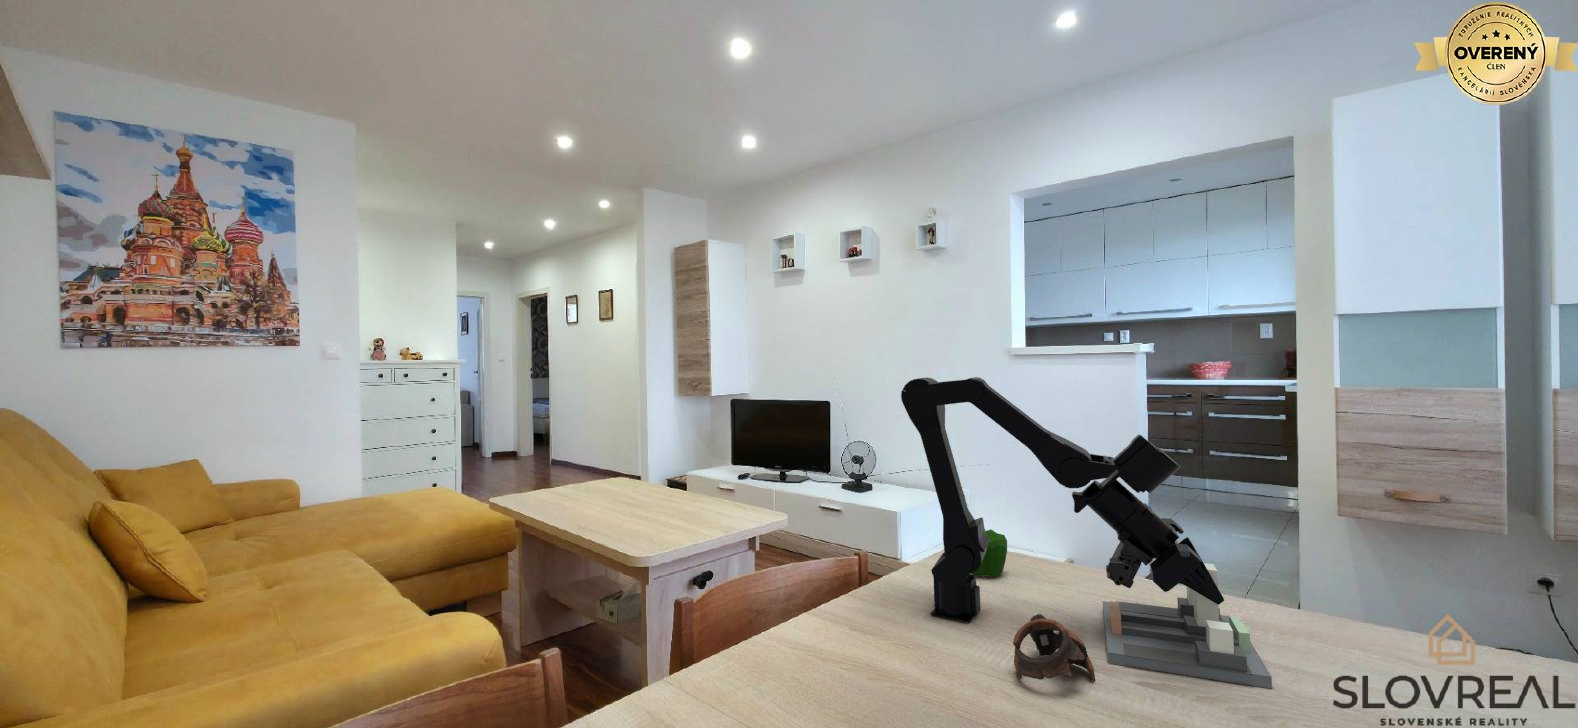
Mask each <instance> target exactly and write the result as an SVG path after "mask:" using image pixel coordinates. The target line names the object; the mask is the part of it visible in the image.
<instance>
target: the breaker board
mask: <svg viewBox="0 0 1578 728" xmlns="http://www.w3.org/2000/svg"><path fill="white" fill-rule="evenodd" d="M1176 601H1177V607H1169V606H1168V607H1167V606H1160V605H1151V604H1145V603H1134V602H1128V601H1127V602H1126V601H1118V600H1116V601H1112V600H1109V601H1106V600H1103V601H1102V614H1103V624H1104V634H1105V643H1106V652H1107V662H1108V664H1112V665H1117V666H1123V667H1131V668H1137V669H1142V670H1143V669H1144V670H1150V671H1156V672H1163V673H1170V674H1175V675H1181V676H1182V675H1183V676H1188V677H1195V678H1201V679H1208V680H1214V681H1220V682H1227V683H1234V684H1240V685H1246V686H1252V687H1258V688H1265V689H1270V688H1272V689H1273V680H1272V678H1273V677H1272V675H1271V673H1270V671H1269V670H1268V668H1267V667H1266V665H1265V663H1264V661H1263V660H1262V658H1261V656H1260V655H1259V653H1258V652H1257V650H1256V648H1255V646H1254V645H1253V643H1252V641H1251V636H1250V635H1251V634H1250V632H1249V630H1248V628H1247V627H1246V625H1245V624H1244V622H1243V620H1242V619H1241V617H1240V616H1239V615H1231V614H1228V615H1224V614H1223V615H1222V614H1221V612H1220V611H1221V610H1220V608H1219V620H1224V621H1226V623H1225V622H1217V621H1209V620H1206V636H1200V635H1192V634H1186V633H1185V630H1184V616H1191V617H1194V595H1193V590H1192V589H1190V588H1189V587H1187V586H1186V597H1179V596H1177V600H1176Z"/></svg>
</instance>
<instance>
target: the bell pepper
mask: <svg viewBox="0 0 1578 728" xmlns="http://www.w3.org/2000/svg"><path fill="white" fill-rule="evenodd" d="M984 530H985V533H986V535H987V537H988V538H989V539H990V541H989V543H988V545H987V551H986V554H985V556H984V558H983V560H982V563H981V565H980V566H979V568H978V569H977V570H976V571H975V572H973V573H970V574H971V575H975V576H976V577H985V576H987V577H993V578H996V577H999V576H1001V574H1002V573H1003V571H1004V569H1005V565H1006V560H1007V554H1008V539H1007V538H1006V536H1005V534H1002V533H998V532H996V531H995V530H993V529H988V530H986V528H985V527H984Z"/></svg>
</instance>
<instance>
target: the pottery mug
mask: <svg viewBox="0 0 1578 728" xmlns="http://www.w3.org/2000/svg"><path fill="white" fill-rule="evenodd" d="M1054 631H1056V632H1054ZM1057 632H1058V633H1057ZM1027 636H1030V637H1031V639H1032V642H1034V644H1035V647H1036V649H1037V652H1038V654H1039V656H1041V657H1031V656H1029V655H1026V654H1025V653H1024V652H1023V651H1022V650H1021V645H1022V642H1023V641H1024V640H1025V638H1027ZM1012 644H1013V646H1014V652H1013V653H1014V655H1013V663H1014V668H1015V671H1016V673H1017V676H1018V677H1019V678H1022V677H1027V678H1032V679H1035V680H1039V681H1040V680H1044V679H1045V678H1046V679H1053V678H1054V677H1058V676H1063V675H1064V676H1067V677H1072V676H1073V675H1072V672H1071V669H1070V665H1076V666H1078V667H1081V668H1083V669H1084V670H1085V671H1087V672H1088V674H1089V675H1090V678H1091V681H1092V680H1093V681H1092V682H1096V676H1095V668H1094V665H1093V663H1092V660H1091V659H1090V657H1089V655H1088V650H1087V647H1086V645H1085V643H1084V642H1083V640H1082V639H1081V638H1080V637H1079V636H1078V635H1077V634H1076V633H1075V632H1073V631H1071V630H1070V629H1069V628H1067V627H1065V626H1064V625H1063V624H1062V623H1060V622H1059V621H1056V620H1055V619H1051V618H1046V617H1045V616H1044V615H1043V614H1041V613H1037V614H1036V615H1033V616H1032V617H1030V620H1029V622H1026V623H1025V624H1023V625H1022V626H1021V627H1020V628H1019V629H1017V631H1016V633H1015V635H1014V636H1013V640H1012ZM1069 664H1070V665H1069Z"/></svg>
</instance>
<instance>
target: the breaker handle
mask: <svg viewBox="0 0 1578 728" xmlns="http://www.w3.org/2000/svg"><path fill="white" fill-rule="evenodd" d="M1203 563H1204V562H1203ZM1204 565H1205V566H1206V568H1207V570H1208V572H1209V573H1210V575H1211V577H1212V579H1213V581H1214V582H1215V584H1216V586H1217V588H1218V589H1219V577H1218V572H1219V571H1218V569H1217V568H1216V566H1215V564H1213V563H1206V562H1205V563H1204ZM1193 595H1194V617H1191V616H1184V630H1185V633H1186V634H1192V635H1200V636H1206V620H1209V621H1217V622H1225V623H1226V621H1224V620H1219V609H1220V604H1216V603H1214V602H1213V601H1211V600H1209V599H1207V598H1206V597H1204V596H1202V595H1201V594H1199V593H1197V592H1196V591H1194V590H1193Z"/></svg>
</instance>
